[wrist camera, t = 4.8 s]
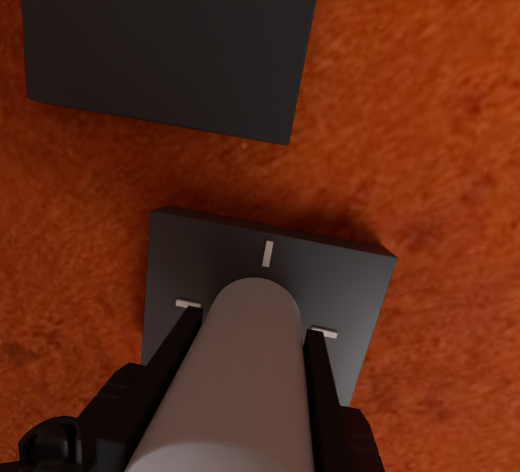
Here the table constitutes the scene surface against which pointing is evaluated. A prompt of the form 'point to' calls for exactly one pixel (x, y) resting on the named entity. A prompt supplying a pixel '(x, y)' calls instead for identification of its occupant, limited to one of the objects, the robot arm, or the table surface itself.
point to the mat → (172, 61)
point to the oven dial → (236, 391)
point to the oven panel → (271, 268)
